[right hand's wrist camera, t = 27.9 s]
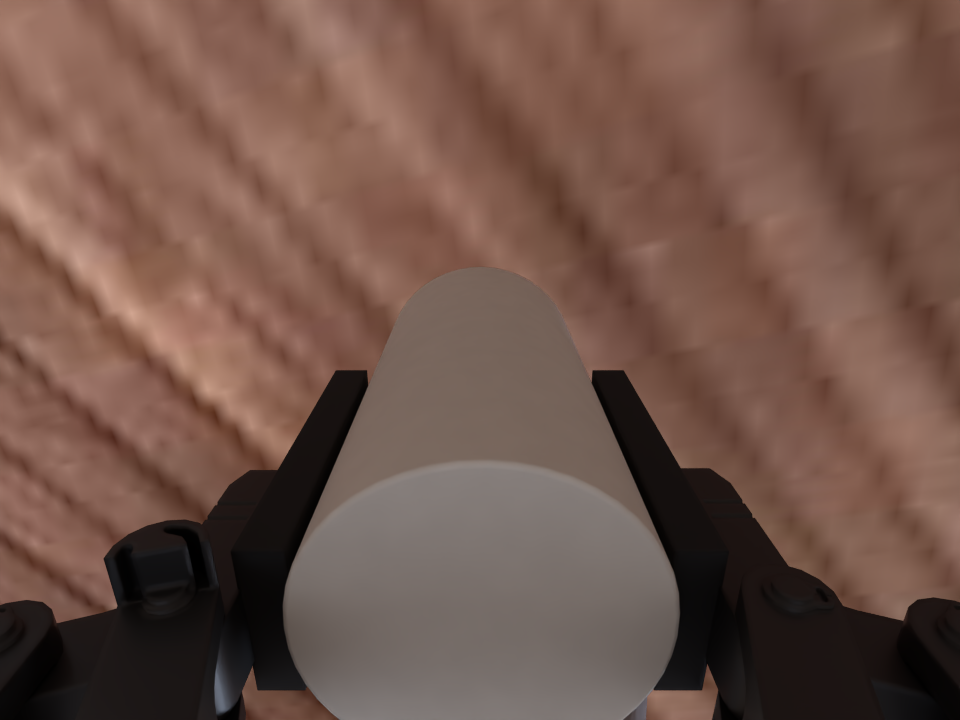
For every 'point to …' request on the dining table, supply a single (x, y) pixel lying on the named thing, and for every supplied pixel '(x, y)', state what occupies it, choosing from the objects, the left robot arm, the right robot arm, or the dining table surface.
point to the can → (481, 529)
